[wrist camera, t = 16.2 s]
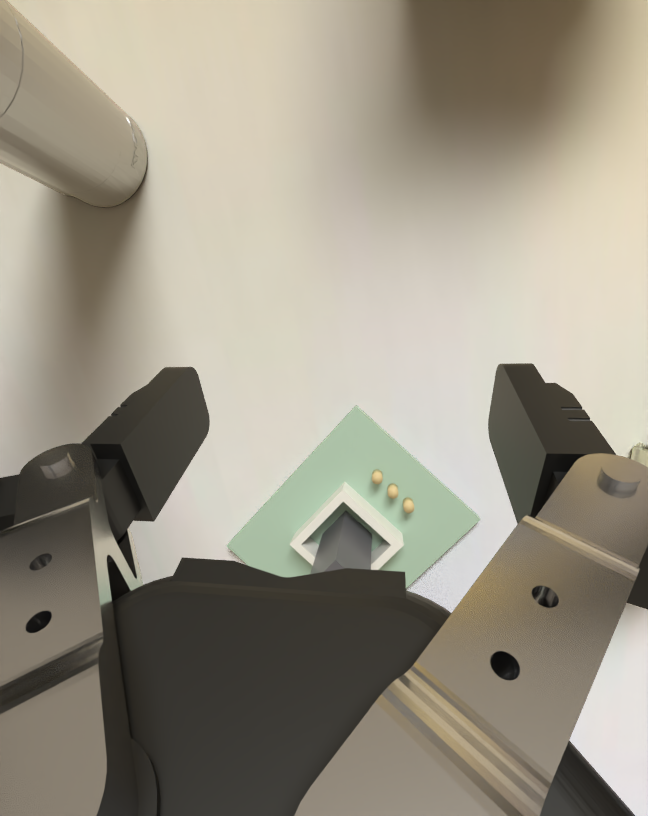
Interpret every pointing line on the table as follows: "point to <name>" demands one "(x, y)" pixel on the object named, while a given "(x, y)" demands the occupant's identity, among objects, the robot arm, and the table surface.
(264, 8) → the table surface
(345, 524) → the grey rectangular block
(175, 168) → the table surface
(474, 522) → the board
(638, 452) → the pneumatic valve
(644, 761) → the table surface
